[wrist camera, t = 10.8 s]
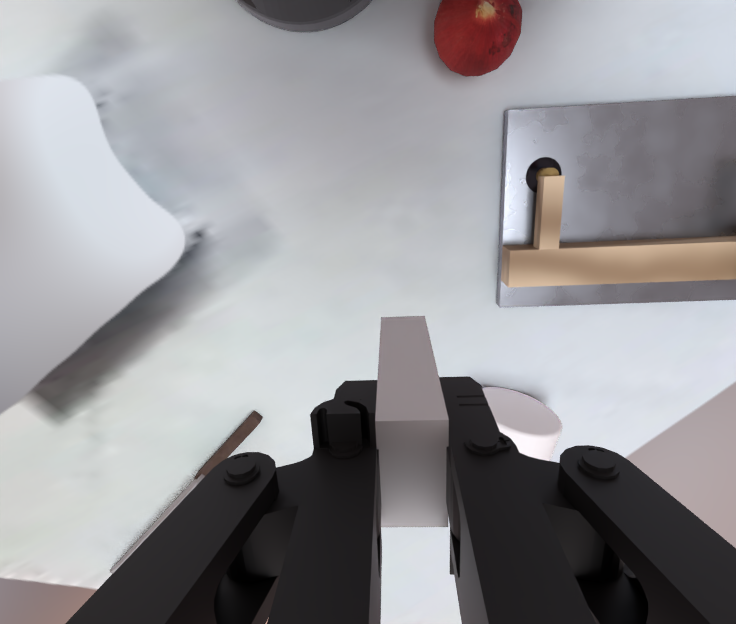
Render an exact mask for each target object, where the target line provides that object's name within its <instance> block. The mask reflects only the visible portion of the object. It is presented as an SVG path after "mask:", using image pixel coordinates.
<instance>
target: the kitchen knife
mask: <svg viewBox="0 0 736 624" xmlns="http://www.w3.org/2000/svg"><path fill="white" fill-rule="evenodd" d="M262 418H263V417H262V416H261V415H260V414H258V413H257V412H256V411H253V412H252V414H251V415H250V416H249V417H248V418H247V419H246V420H245V421H244V422H243V423H242V424H241V425H240V427H239V428H238V429H237V430H236V431H235V432H234V433H233V434H232V435H231V436H230V437H229V438H228V440H227V441H226V442H225V443H224V444H223V445H222V446H221V447H220V448H219V449H218V450H217V451H216V453H215V454H214V455H213V456H212V457H211V458H210V459H209V460H208V461H207V462H206V463H205V464H204V466H203V467H202V468H201V469H200V470H199V471H198V473H197V474H196V476H195V479H194V480H193V481H192V482H191V483H190V484H189V485H188V487H187V488H186V489H185V490H184V491H183V492H182V493H181V494H180V495H179V496H178V497H177V498H176V500H175V501H174V502H173V503H172V504H171V505H170V506H169V507H168V508H167V509H166V510H165V511H164V513H163V514H162V515H161V516H160V517H159V518H158V519H157V520H156V521H155V522H154V524H153V525H152V526H151V527H150V528H149V529H148V530H147V531H146V532H145V533H144V535H143V536H142V537H141V538H140V539H139V540H138V541H137V542H136V543H135V544H134V545H133V547H132V548H131V549H130V550H129V551H128V552H127V553H126V554H125V555H124V556H123V557H122V559H121V560H120V561H119V562H118V563H117V564H116V565H115V566H113V568H112V569H111V570H110V572H111V573H112V574H113V573H114V572H115V571H116V570H117V569H118V568H119V567H120V566H121V565H122V564H123V563H124V561H125V560H126V559H127V558H128V557H129V556H130V555H131V554H132V553H133V552H134V551H135V550H136V549H137V548H138V547H139V546H140V545H141V544H142V542H143V541H144V540H145V539H146V538H147V537H148V536H149V535H150V534H151V533H152V532H153V531H154V530H155V529H156V528H157V527H158V526H159V525H160V523H161V522H162V521H163V520H164V519H165V518H166V517H167V516H168V515H169V514H170V513H171V512H172V511H173V510H174V509H175V508H176V507H177V506H178V505H179V503H180V502H181V501H182V500H183V499H184V498H185V497H186V496H187V495H188V494H189V493H190V492H191V491H192V490H193V489H194V488H195V487H196V486H197V484H198V483H199V482H200V481H201V480H202V479H203V478H204V477H205V476H206V475H207V474H208V473H209V472H210V471H211V470H212V469H213V468H214V467H215V466H216V465H218V464H219V463H220V462H221V461H223V460H225V459H227V458H228V457H229V455H230V454H231V453H232V452H233V451H234V450H235V449H236V448H237V447H238V446H239V445H240V444H241V443H242V442H243V441H244V439H245V438H246V437H247V436H248V435H249V434H250V433H251V432H252V431H253V430H254V429H255V428H256V427H257V425H258V424H259V423H260V422H261V420H262Z"/></svg>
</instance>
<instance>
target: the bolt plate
mask: <svg viewBox="0 0 736 624" xmlns="http://www.w3.org/2000/svg"><path fill="white" fill-rule="evenodd" d="M541 168H555V169H557V170H558V172H559V175H562V176H565V181H564V193H563V205H562V217H561V228H560V240H559V243H574V242H598V241H622V240H646V239H670V238H693V237H717V236H736V96H728V97H712V98H695V99H679V100H662V101H646V102H629V103H613V104H596V105H580V106H563V107H547V108H530V109H514V110H507V111H505V116H504V140H503V164H502V188H501V212H500V236H499V259H498V283H497V305H498V306H499V307H530V306H560V305H590V304H619V303H649V302H679V301H709V300H736V279H729V280H702V281H674V282H647V283H619V284H591V285H564V286H536V287H507V286H506V285H505V284H504V283H503V282H502V281H501V269H502V246H503V245H527V244H534V229H535V214H536V199H537V184H538V181H537V179H536V174H537V172H538V170H540V169H541Z"/></svg>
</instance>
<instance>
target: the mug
mask: <svg viewBox="0 0 736 624" xmlns="http://www.w3.org/2000/svg"><path fill="white" fill-rule="evenodd" d="M482 390H483V392H484V394H485V397H486V399H487V402H488V406H490V409H491V411H492V414H493V416H494V419H495V421H496V423H497V426H498V428H499V431H500V432H501V433H503V434H505V435H506V436H508V437H509V438H511V439H512V441H513V442H514V443H515V445H516V446H517V448H518V451H519V453H522V454H524V455H526V456H529V457H533V458H537V459H541V460H546V461H550V460H551V458H552V455H553V452H554V450H555V447H556V445H557V442H558V439H559V437H560V434H561V432H562V423H561V421H560V419H559V418H558V416H557V415H556V414H555V413H554V412H553V411H552V410H551V409H550V408H549V407H547V406H546V405H545V404H543V403H541V402H540V401H538V400H536V399H534V398H532V397H530V396H528V395H526V394H523V393H520V392H517V391H514V390H510V389H506V388H499V387H484V388H482Z"/></svg>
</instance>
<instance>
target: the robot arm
mask: <svg viewBox="0 0 736 624" xmlns="http://www.w3.org/2000/svg"><path fill="white" fill-rule="evenodd" d="M235 1H237V2H238V3H239V4H240V5H241V6H242V7H243V8H244V9H245V10H246V11H248V12H249V13H250V14H252V15H253V16H255V17H256V18H258V19H259V20H261V21H263V22H265V23H267V24H269V25H272V26H274V27H277V28H280V29H284V30H288V31H295V32H313V31H320V30H325V29H328V28H332V27H334V26H337V25H339V24H341V23H343V22H345V21H347V20H349V19H351V18H352V17H354V16H355V15H356V14H358V13H359V12H360V11H362V10H363V9H364V8H365V7H366V6H367V5H368V4H369V3H370V2H371V1H372V0H235ZM310 417H311V426H312V436H313V445H314V450H313V454H312V456H311V457H309V458H307V459H305V460H303V461H300V462H297V463H294V464H290V465H286V466H281V467H277V468H276V466H275V461H274V460H273V459H272V458H271V457H270V456H269V455H266V454H263V453H260V452H246V453H240V454H237V455H233V456H231V457H229V458H227V459H225V460H223V461H221V462H220V463H219V464H218V465H216V466H215V467H214V468H213V469H212V470H211V471H210V472H209V473H208V474H207V475H206V476H205V477H204V478H203V479H202V480H201V481H200V482H199V483H198V484H197V486H196V487H195V488H194V489H193V490H192V491H191V492H190V493H189V494H188V495H187V496H186V497H185V498H184V499H183V500H182V501H181V502H180V503H179V505H178V506H177V507H176V508H175V509H174V510H173V511H172V512H171V513H170V514H169V515H168V516H167V517H166V518H165V519H164V520H163V521H162V522H161V523H160V525H159V526H158V527H157V528H156V529H155V530H154V531H153V532H152V533H151V534H150V535H149V536H148V537H147V538H146V539H145V540H144V541H143V542H142V544H141V545H140V546H139V547H138V548H137V549H136V550H135V551H134V552H133V553H132V554H131V555H130V556H129V557H128V558H127V559H126V560H125V561H124V563H123V564H122V565H121V566H120V567H119V568H118V569H117V570H116V571H115V572H114V573H113V574H112V575H111V576H110V577H109V578H108V579H107V580H106V581H105V583H104V584H103V585H102V586H101V587H100V588H99V589H98V590H97V591H96V592H95V593H94V594H93V595H92V596H91V597H90V598H89V599H88V601H87V602H86V603H85V604H84V605H83V606H82V607H81V608H80V609H79V610H78V611H77V612H76V613H75V614H74V615H73V616H72V617H71V618H70V619H69V621H68V622H67V623H66V624H265V623H266V621H267V619H268V617H269V619H268V622H267V624H380V619H381V565H382V540H381V527H448V516H449V522H450V574H454V575H455V582H456V588H457V595H458V601H459V608H460V614H461V620H462V624H736V548H734V547H733V546H732V545H731V544H730V543H728V542H727V541H726V540H725V539H723V538H722V537H721V536H720V535H719V534H718V533H716V532H715V531H714V530H713V529H711V528H710V527H709V526H708V525H707V524H705V523H704V522H703V521H702V520H700V519H699V518H698V517H697V516H696V515H694V514H693V513H692V512H691V511H690V510H688V509H687V508H686V507H685V506H683V505H682V504H681V503H680V502H679V501H677V500H676V499H675V498H674V497H673V496H671V495H670V494H669V493H668V492H666V491H665V490H664V489H663V488H662V487H660V486H659V485H658V484H657V483H655V482H654V481H653V480H652V479H651V478H649V477H648V476H647V475H646V474H645V473H643V472H642V471H641V470H640V469H639V468H637V467H636V466H635V465H634V464H632V463H631V462H630V461H629V460H627V459H626V458H624V457H622V456H621V455H619V454H618V453H615V452H613V451H610V450H607V449H605V448H601V447H597V446H596V447H595V446H589V445H587V446H574V447H571V448H568V449H566V450H565V451H564V452H563V453H562V454H561V455H560V463H557V462H551V461H546V460H541V459H537V458H533V457H529V456H526V455H524V454H522V453H519V451H518V448H517V446H516V445H515V443H514V442H513V441H512V439H511V438H509V437H508V436H506V435H505V434H503V433H501V432H500V431H499V428H498V426H497V423H496V421H495V419H494V416H493V414H492V411H491V409H490V406H488V402H487V399H486V397H485V394H484V392H483V390H482V387H481V385H480V384H479V383H477V382H476V381H475V380H473V379H472V378H471V377H439V376H438V371H437V367H436V363H435V358H434V354H433V350H432V346H431V341H430V337H429V333H428V328H427V324H426V320H425V316H410V317H381V331H380V347H379V364H378V380H364V381H345V382H344V383H343V384H342V385H341V386H340V387H339V388H337V389H336V392H335V396H334V399H332V400H329V401H326V402H323V403H321V404H320V405H318V406H317V407H315V408H314V410H313V411H312V413H311V414H310Z"/></svg>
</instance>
